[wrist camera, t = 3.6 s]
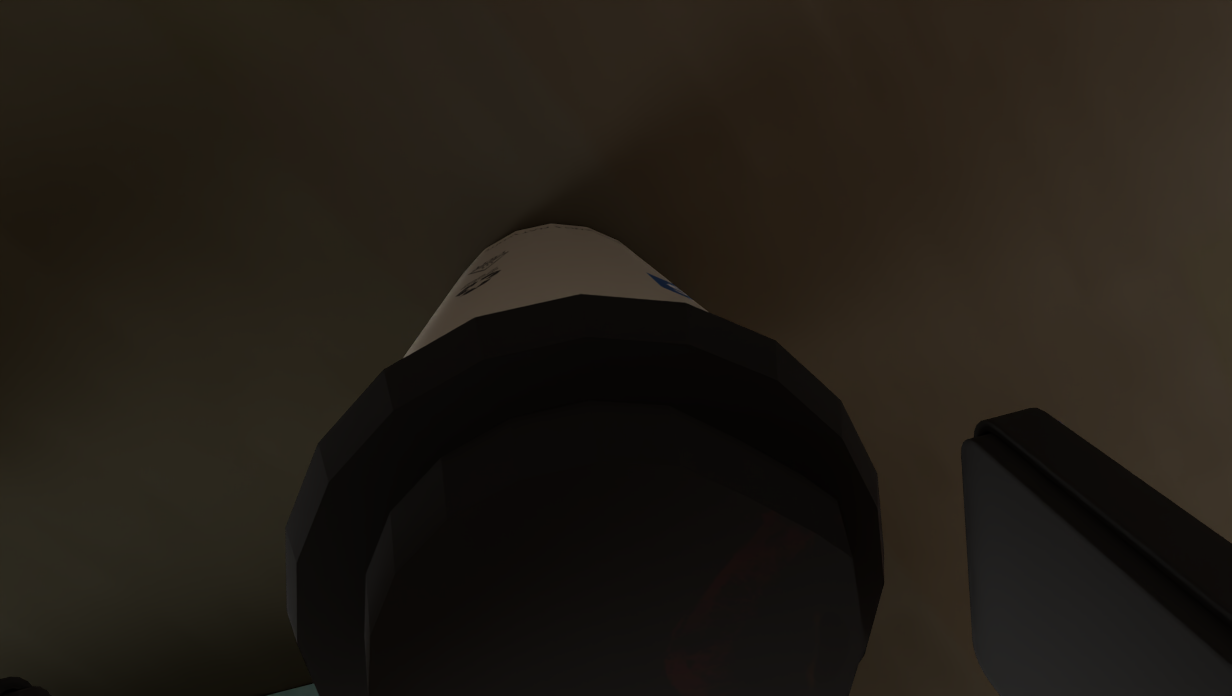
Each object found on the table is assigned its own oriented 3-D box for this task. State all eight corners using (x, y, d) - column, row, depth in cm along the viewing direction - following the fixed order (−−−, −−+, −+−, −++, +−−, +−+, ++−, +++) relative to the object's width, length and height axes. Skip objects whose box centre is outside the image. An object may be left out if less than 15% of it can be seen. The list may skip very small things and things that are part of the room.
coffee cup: (408, 491, 19) (308, 955, 9) (363, 172, 16) (165, 378, 7) (719, 463, 19) (912, 872, 10) (723, 153, 17) (985, 318, 8)
